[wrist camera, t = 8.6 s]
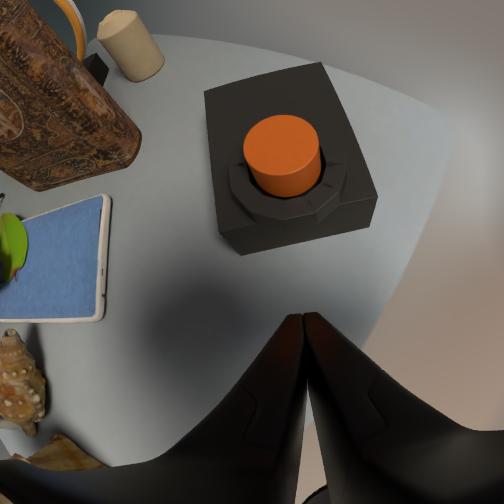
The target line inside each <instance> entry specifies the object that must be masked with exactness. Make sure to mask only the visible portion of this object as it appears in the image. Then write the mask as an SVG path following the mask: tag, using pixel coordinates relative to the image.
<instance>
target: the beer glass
mask: <svg viewBox="0 0 504 504" xmlns="http://www.w3.org/2000/svg"><path fill="white" fill-rule="evenodd" d="M0 429H9V430H20V429H22V428H21V427H20V425H19V424H18V423H13V422H10V421H9V420H6V419H4V418H3V417H2V415H0Z"/></svg>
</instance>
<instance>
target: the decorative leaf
mask: <svg viewBox="0 0 504 504" xmlns="http://www.w3.org/2000/svg"><path fill="white" fill-rule="evenodd" d="M27 246H28V239H27V233H26V230H25V227H24V225H23V224H22V222H21V221H20V220H19V219H18V218H17V217H16V216H15V215H13V214H11V213H4V214H2V216H1V219H0V258H1V260H2V262H3V265H4V275H3V280H4V281H5V282H9V281H10V280H11V279H12V277H13V275H14V274H15V282H17V279H16V271H17V270H19V269H20V268H21V267H22V266H23V264H24V261H25V257H26V253H27Z"/></svg>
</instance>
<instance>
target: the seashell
mask: <svg viewBox="0 0 504 504" xmlns="http://www.w3.org/2000/svg"><path fill="white" fill-rule="evenodd" d="M45 384H46V382H45V379H44V378H43V377H42V373H41V371H40V370H39V369H36V362H35V359H34V358H33V357H32V355H31V354H30V352H29V351H28V350H27V348H26V344H25V343H24V342H23V341H22V340H21V339H20V335H19V334H18V333H17V332H16V331H15V330H14V329H7V330H6V331H5V332H4V335H3V337H2V340H1V346H0V415H2V417H3V418H4V419H6V420H9V421H10V422H13V423H18V424H19V425H20V427H21V428H22V429H23V431H24V432H25V434H26V435H27V436H29V437H34V436H35V435H36V432H37V430H36V425H35V422H39V421H42V420H43V419H44V414H45V407H44V405H45Z"/></svg>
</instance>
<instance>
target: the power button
mask: <svg viewBox="0 0 504 504" xmlns="http://www.w3.org/2000/svg"><path fill="white" fill-rule="evenodd" d="M243 152H244V156H245V159H246V161H247V163H248V165H249V167H250V169H251V171H252V174H253V176H254V178H255V180H256V182H257V184H258V185H259V186H260V187H261V188H262V189H263V190H264V191H266V192H267V193H269V194H271V195H274V196H278V197H292V196H296V195H299V194H302V193H304V192H305V191H307V190H308V189H310V188H311V187H312V186H313V185H314V184H315V182H316V181H317V179H318V177H319V175H320V171H321V161H320V151H319V141H318V136H317V133H316V131H315V129H314V128H313V127H312V126H311V125H310V124H309V123H308V122H307V121H305V120H304V119H301V118H299V117H296V116H292V115H276V116H272V117H269V118H266V119H264V120H262V121H260V122H259V123H257V124H256V125H255V126H254V127H253V128H252V129H251V130H250V131H249V132H248V134H247V136H246V138H245V140H244V145H243Z"/></svg>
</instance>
